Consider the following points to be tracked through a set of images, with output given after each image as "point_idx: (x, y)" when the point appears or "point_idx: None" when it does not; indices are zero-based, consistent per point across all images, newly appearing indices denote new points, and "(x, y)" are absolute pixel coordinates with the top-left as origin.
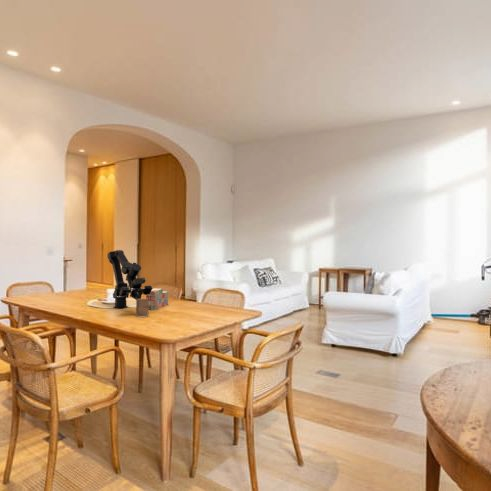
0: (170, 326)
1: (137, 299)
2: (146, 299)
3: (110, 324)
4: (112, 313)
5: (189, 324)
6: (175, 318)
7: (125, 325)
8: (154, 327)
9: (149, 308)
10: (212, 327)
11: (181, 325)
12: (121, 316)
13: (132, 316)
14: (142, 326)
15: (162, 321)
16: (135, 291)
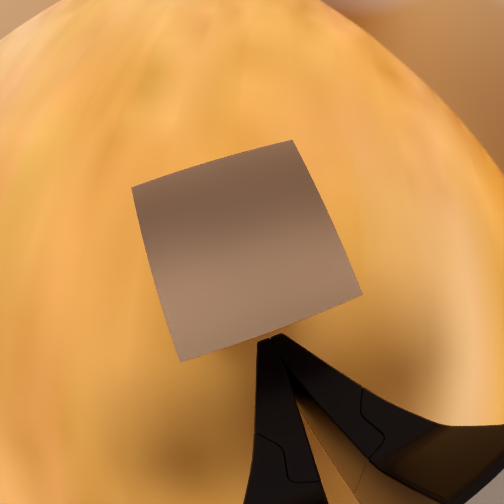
0: (132, 16)
1: (339, 243)
2: (160, 188)
3: (427, 100)
4: None
5: (48, 45)
6: (24, 156)
7: (348, 56)
8: (205, 8)
9: None
10: (21, 26)
11: (83, 30)
12: (415, 319)
13: None
14: (259, 24)
15: (124, 87)
16: (470, 447)
